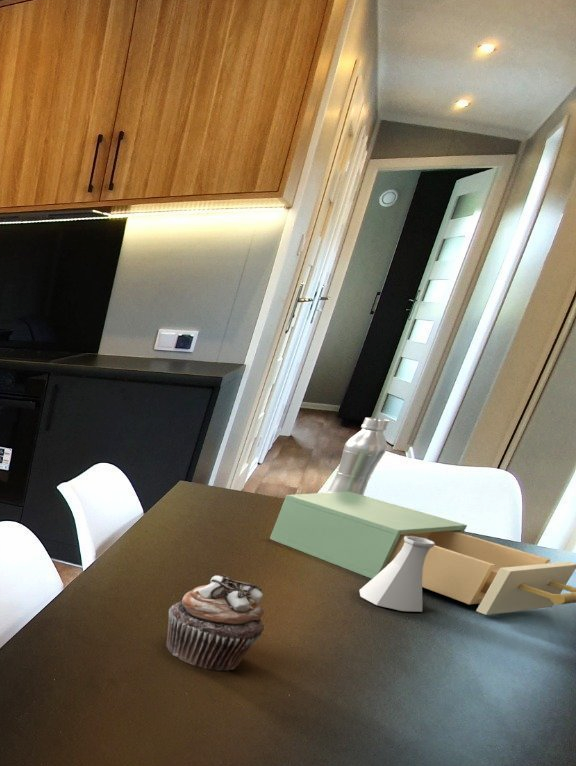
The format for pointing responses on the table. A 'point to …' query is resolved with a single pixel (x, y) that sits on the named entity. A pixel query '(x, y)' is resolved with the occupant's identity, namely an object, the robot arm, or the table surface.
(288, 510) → the cabinet
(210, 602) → the cupcake
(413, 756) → the table surface
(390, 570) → the flask
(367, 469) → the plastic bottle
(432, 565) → the drawer
